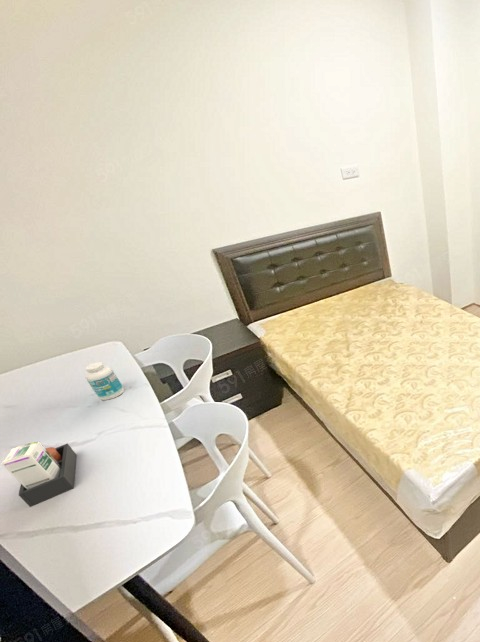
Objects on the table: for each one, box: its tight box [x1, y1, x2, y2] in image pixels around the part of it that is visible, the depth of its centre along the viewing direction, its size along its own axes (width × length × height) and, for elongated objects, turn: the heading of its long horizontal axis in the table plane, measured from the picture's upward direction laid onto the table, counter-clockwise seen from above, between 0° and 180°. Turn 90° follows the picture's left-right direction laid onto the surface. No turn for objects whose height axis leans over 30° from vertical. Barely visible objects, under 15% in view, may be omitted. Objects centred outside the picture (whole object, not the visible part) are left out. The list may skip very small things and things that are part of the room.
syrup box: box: [0, 441, 61, 490], centre depth 109 cm, size 6×6×14 cm
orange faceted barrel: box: [44, 446, 62, 462], centre depth 116 cm, size 6×6×7 cm
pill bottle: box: [84, 361, 125, 401], centre depth 147 cm, size 8×7×14 cm
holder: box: [18, 443, 78, 508], centre depth 114 cm, size 9×17×6 cm, turn 41°
